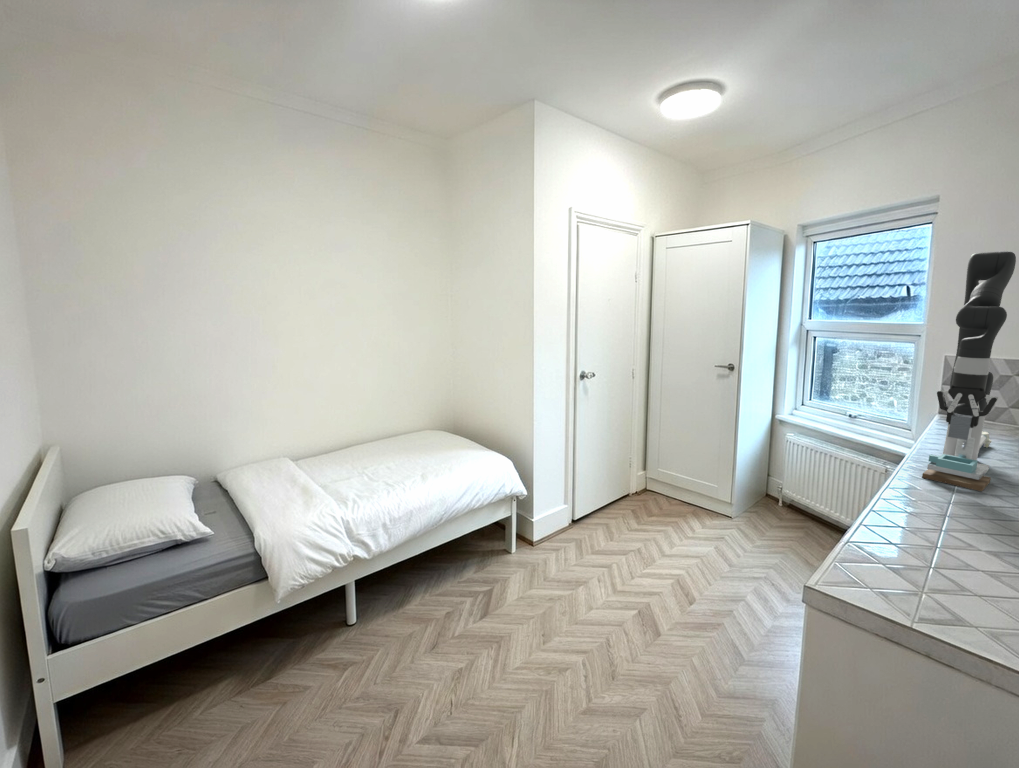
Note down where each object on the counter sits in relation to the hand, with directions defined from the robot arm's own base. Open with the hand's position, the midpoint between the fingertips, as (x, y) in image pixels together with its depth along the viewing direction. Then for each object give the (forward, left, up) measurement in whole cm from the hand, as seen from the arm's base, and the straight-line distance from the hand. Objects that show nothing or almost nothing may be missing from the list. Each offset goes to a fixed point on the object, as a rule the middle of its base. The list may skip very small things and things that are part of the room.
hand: (961, 425), depth 144 cm
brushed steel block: (0, 0, -4) cm, 4 cm away
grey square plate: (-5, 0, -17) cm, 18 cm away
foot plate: (-5, 0, -19) cm, 19 cm away
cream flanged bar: (-58, -3, -19) cm, 61 cm away
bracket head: (-1, -1, -14) cm, 14 cm away
